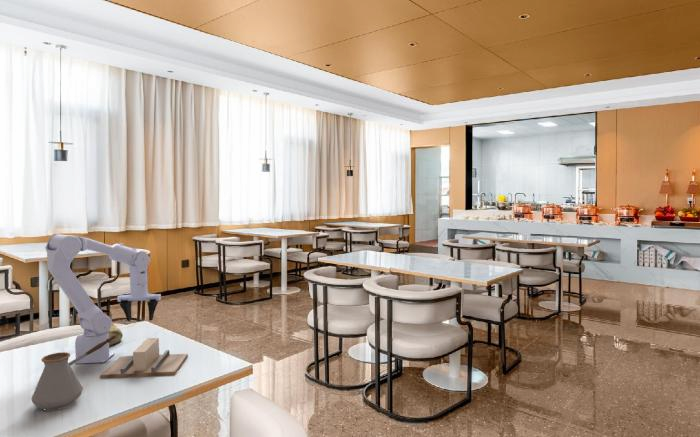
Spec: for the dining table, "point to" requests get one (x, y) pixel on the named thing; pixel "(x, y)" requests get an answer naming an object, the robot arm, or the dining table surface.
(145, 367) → the beige rectangular block
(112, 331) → the pastry
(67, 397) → the coffee pot
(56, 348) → the dining table surface
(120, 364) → the tan panel with rails
